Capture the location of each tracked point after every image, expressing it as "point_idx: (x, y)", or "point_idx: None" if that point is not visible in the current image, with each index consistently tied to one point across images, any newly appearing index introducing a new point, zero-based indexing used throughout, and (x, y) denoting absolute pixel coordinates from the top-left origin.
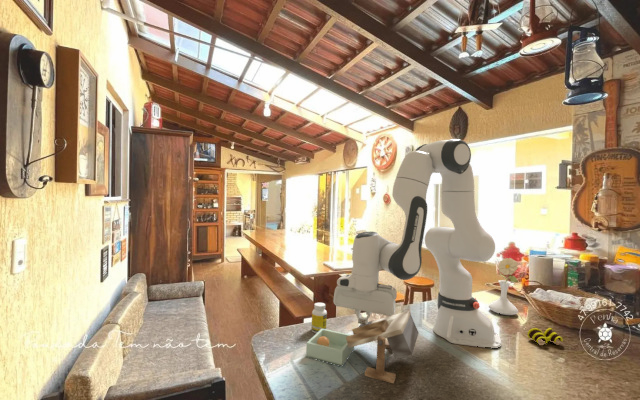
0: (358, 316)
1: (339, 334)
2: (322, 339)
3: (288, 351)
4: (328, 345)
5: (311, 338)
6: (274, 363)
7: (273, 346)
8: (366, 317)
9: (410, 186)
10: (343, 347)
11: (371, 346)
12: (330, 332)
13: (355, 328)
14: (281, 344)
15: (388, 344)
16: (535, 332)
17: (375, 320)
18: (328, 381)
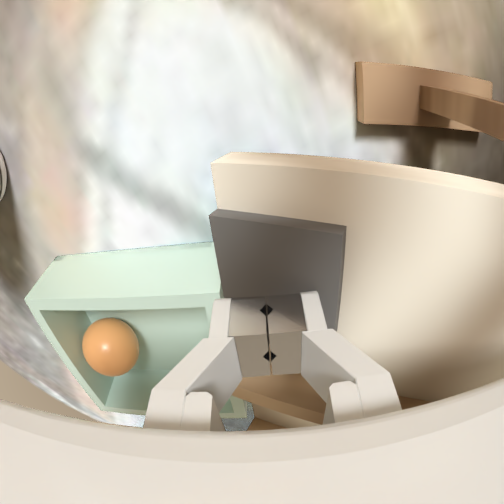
0: (223, 398)
1: (126, 306)
2: (112, 376)
3: (56, 358)
4: (138, 347)
5: (83, 387)
6: (90, 404)
7: (14, 349)
8: (322, 397)
9: None
10: (234, 400)
11: (306, 150)
12: (76, 306)
13: (248, 395)
14: (12, 334)
15: (412, 118)
16: None
17: (386, 189)
18: (248, 416)
